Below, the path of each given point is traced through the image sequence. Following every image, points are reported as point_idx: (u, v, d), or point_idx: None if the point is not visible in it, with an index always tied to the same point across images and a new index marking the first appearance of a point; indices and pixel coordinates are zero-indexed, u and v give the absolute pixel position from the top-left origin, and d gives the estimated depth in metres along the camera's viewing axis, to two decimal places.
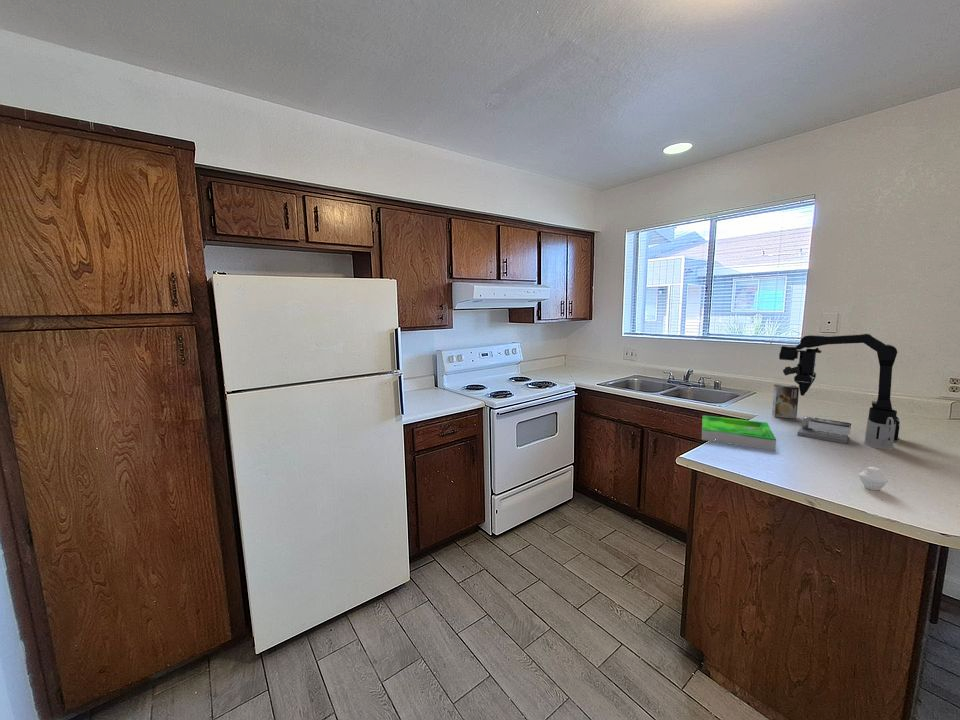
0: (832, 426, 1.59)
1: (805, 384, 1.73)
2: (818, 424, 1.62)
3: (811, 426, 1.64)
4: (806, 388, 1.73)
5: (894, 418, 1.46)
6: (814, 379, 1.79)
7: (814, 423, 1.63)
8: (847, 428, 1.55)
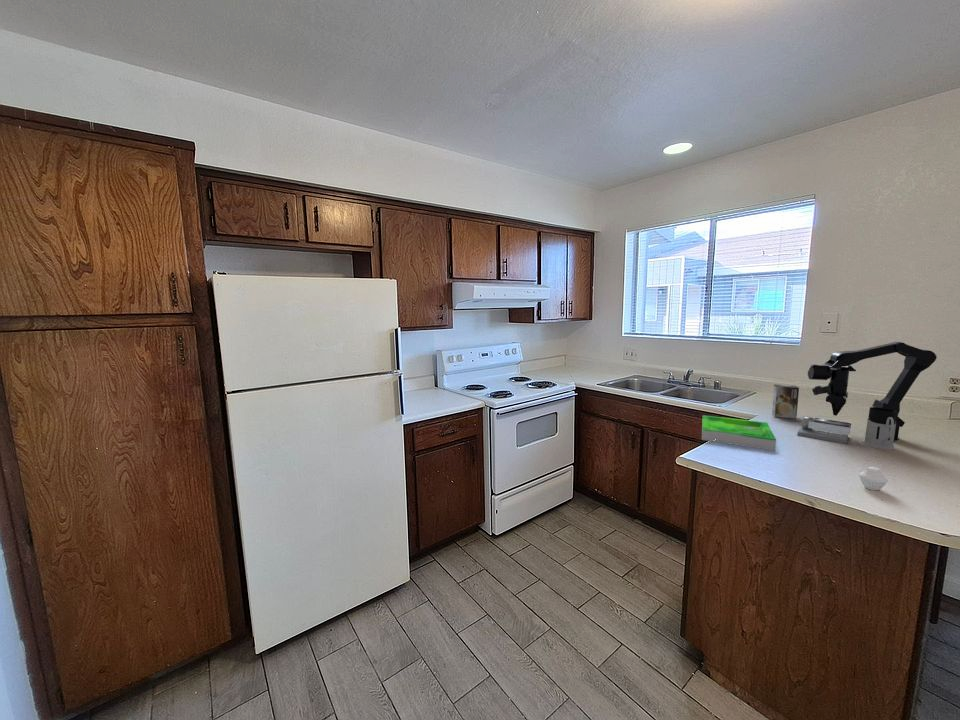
0: (832, 426, 1.59)
1: (838, 403, 1.63)
2: (818, 424, 1.62)
3: (811, 426, 1.64)
4: (839, 408, 1.63)
5: (894, 418, 1.46)
6: None
7: (814, 423, 1.63)
8: (847, 428, 1.55)
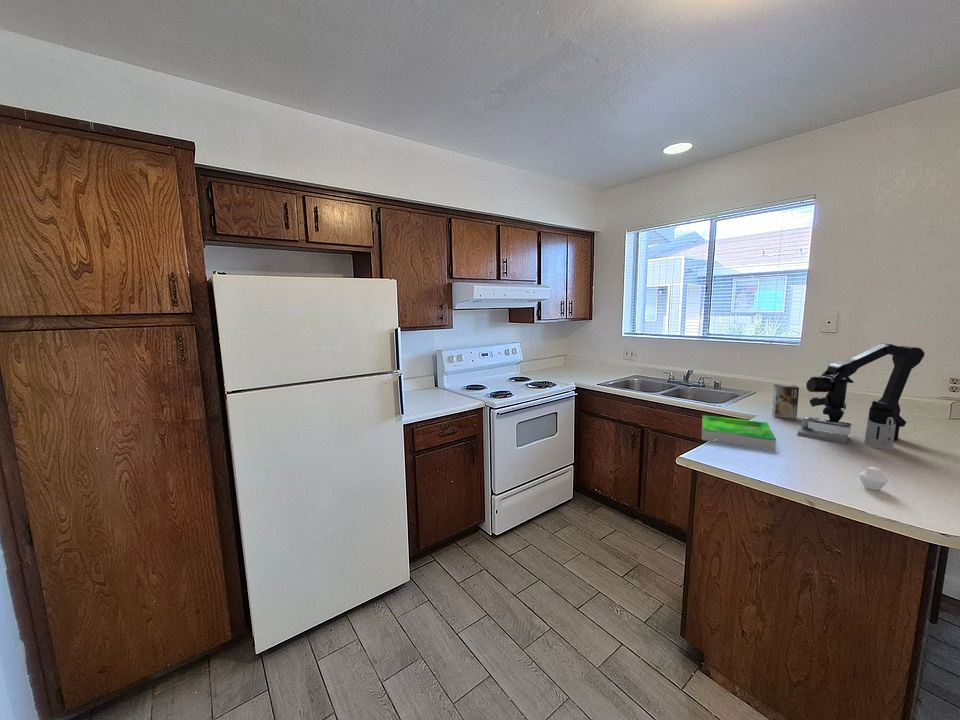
0: (832, 426, 1.59)
1: (836, 415, 1.61)
2: (818, 424, 1.62)
3: (811, 426, 1.64)
4: (837, 420, 1.61)
5: (894, 418, 1.46)
6: None
7: (814, 423, 1.63)
8: (847, 428, 1.55)
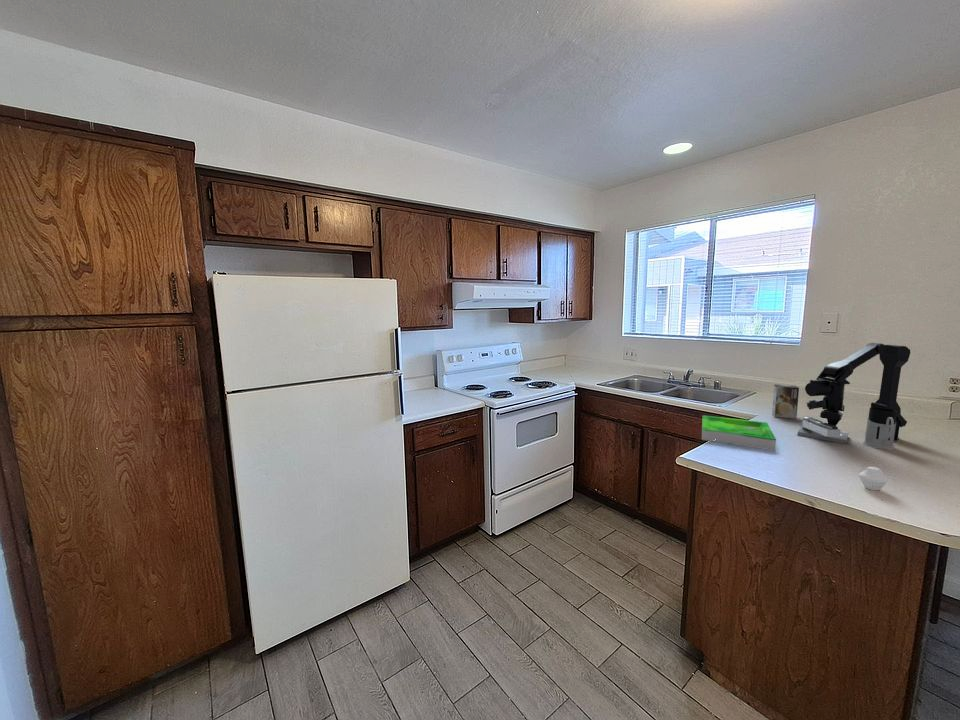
0: (816, 426, 1.59)
1: None
2: (808, 423, 1.63)
3: (804, 425, 1.65)
4: (835, 423, 1.57)
5: (894, 418, 1.46)
6: None
7: (806, 422, 1.64)
8: (825, 429, 1.54)
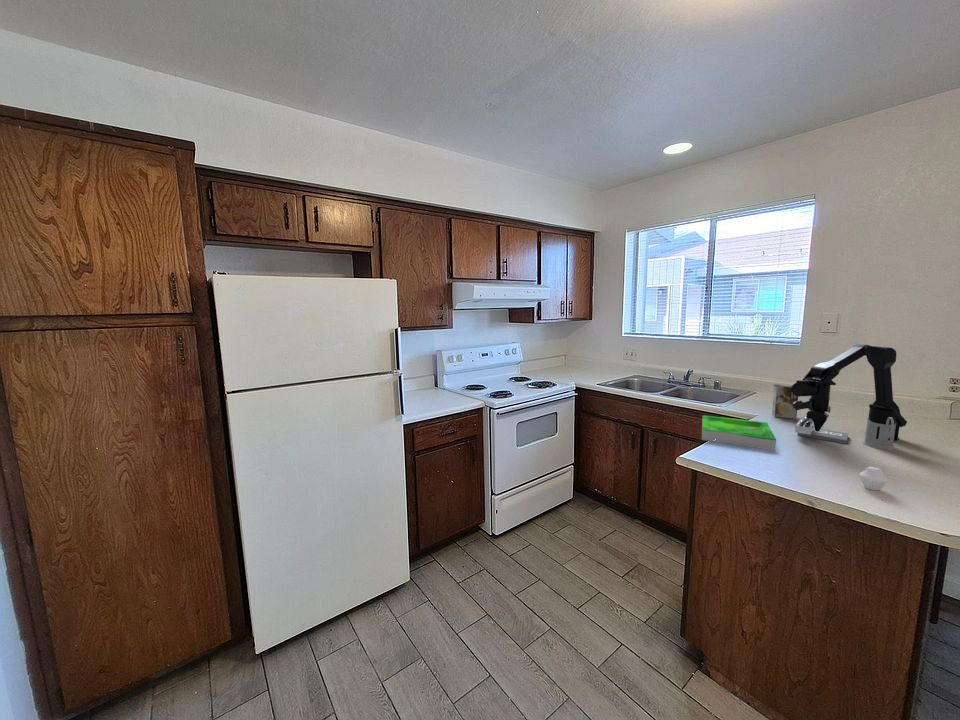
0: None
1: (820, 419, 1.56)
2: None
3: None
4: (821, 424, 1.56)
5: (894, 418, 1.46)
6: None
7: (799, 421, 1.67)
8: None
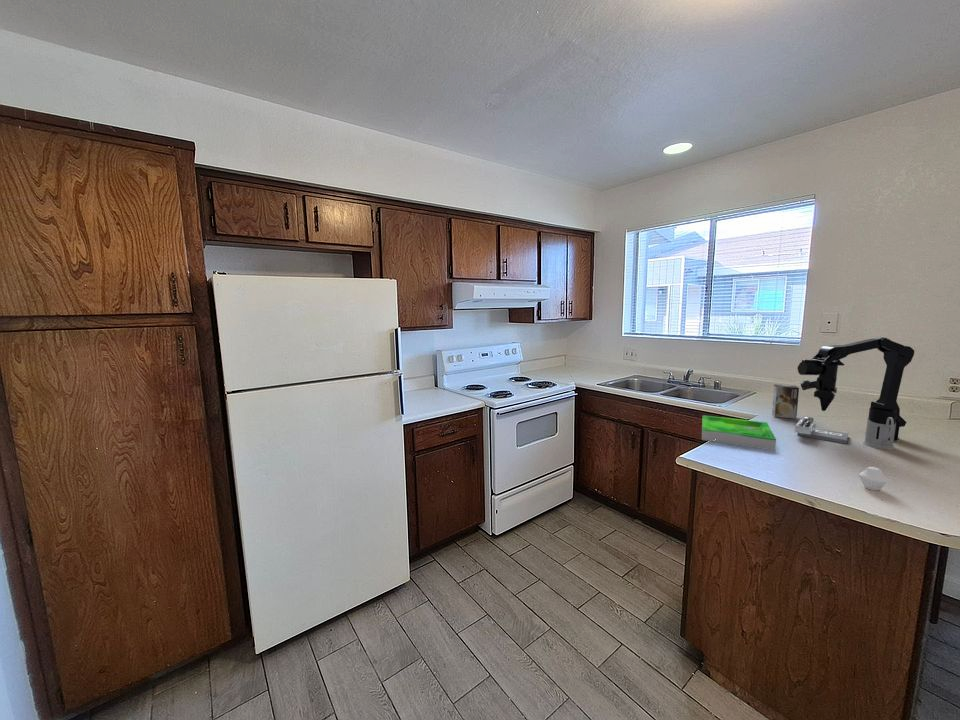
0: None
1: (827, 399, 1.60)
2: None
3: None
4: (828, 403, 1.60)
5: (894, 418, 1.46)
6: (834, 396, 1.60)
7: (799, 421, 1.67)
8: None
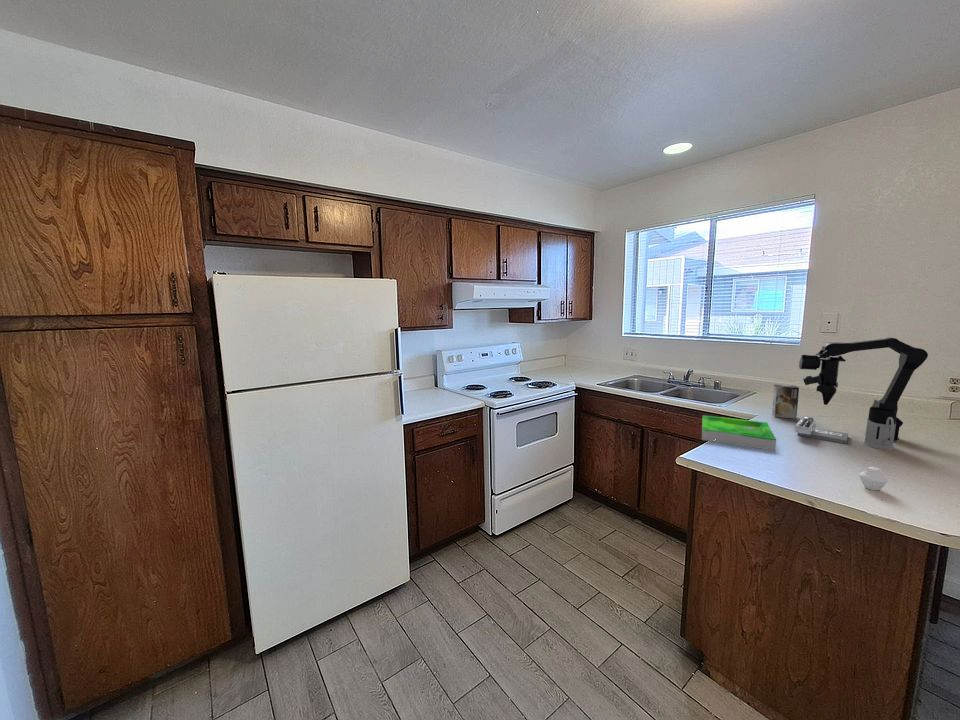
0: None
1: (829, 393, 1.67)
2: None
3: None
4: (830, 397, 1.67)
5: (894, 418, 1.46)
6: None
7: (799, 421, 1.67)
8: None
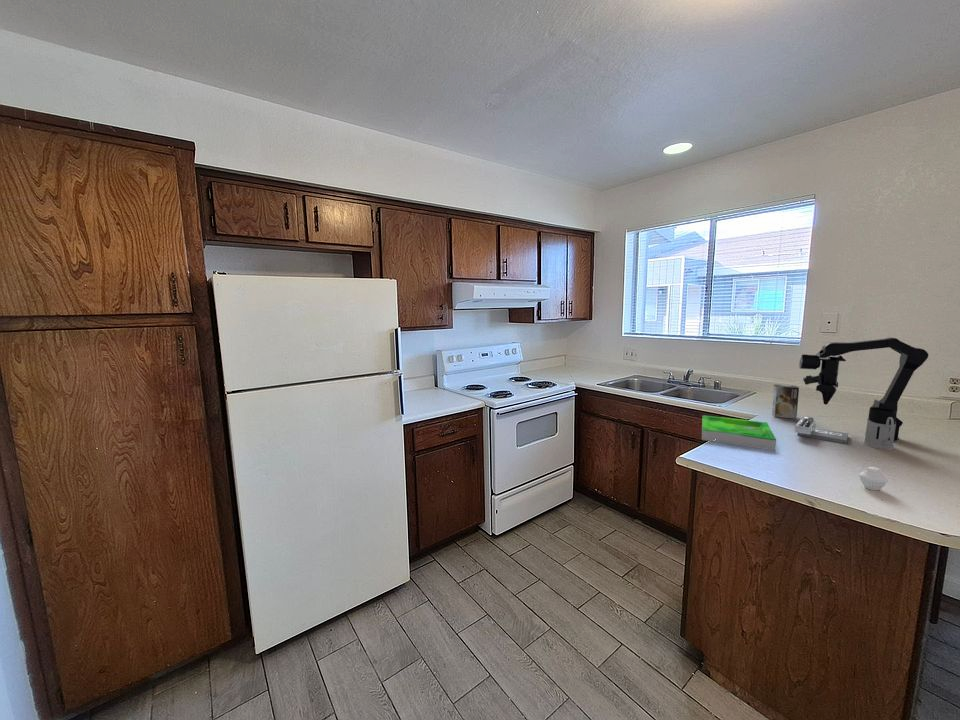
0: None
1: (829, 393, 1.67)
2: None
3: None
4: (830, 397, 1.67)
5: (894, 418, 1.46)
6: None
7: (799, 421, 1.67)
8: None
